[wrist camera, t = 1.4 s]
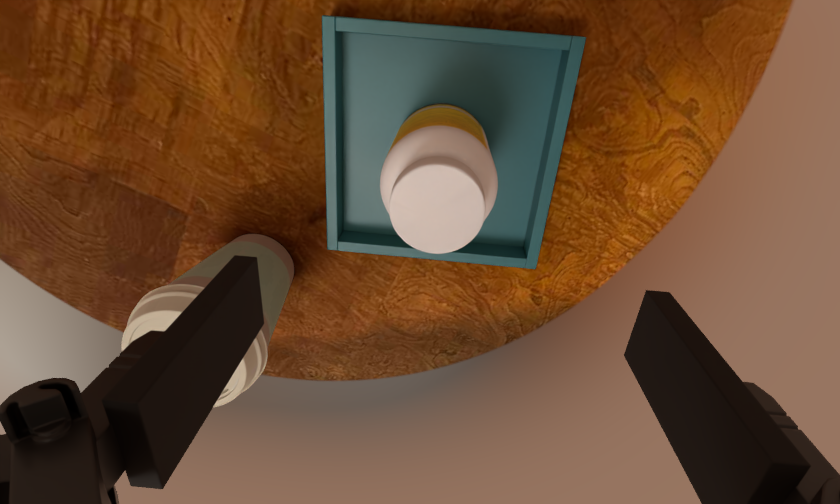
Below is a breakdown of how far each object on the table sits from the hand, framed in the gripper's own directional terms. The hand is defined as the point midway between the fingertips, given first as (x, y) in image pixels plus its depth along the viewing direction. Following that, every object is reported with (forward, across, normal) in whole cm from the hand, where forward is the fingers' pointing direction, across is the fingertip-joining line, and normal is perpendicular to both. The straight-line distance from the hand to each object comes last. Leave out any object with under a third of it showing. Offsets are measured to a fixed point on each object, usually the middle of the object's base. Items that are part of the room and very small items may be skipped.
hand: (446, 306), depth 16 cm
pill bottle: (+19, 0, +1) cm, 19 cm away
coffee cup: (+19, -15, -10) cm, 26 cm away
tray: (+19, 0, +1) cm, 19 cm away
